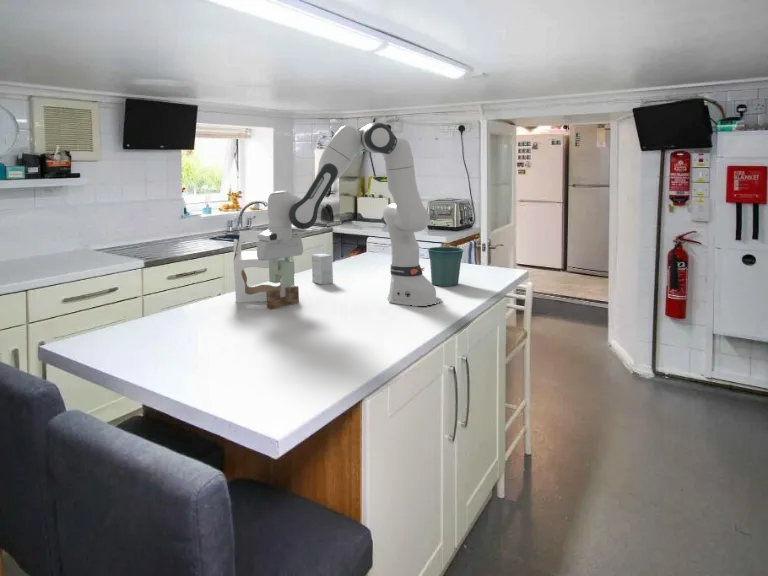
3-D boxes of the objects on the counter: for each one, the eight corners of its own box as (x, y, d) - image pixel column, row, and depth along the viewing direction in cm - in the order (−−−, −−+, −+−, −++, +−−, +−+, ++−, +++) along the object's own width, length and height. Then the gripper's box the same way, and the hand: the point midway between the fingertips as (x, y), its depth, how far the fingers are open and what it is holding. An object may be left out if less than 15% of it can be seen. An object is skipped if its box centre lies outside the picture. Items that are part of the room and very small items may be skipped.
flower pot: (436, 278, 276) (437, 245, 272) (468, 282, 268) (469, 247, 264) (420, 285, 262) (421, 250, 259) (454, 289, 254) (455, 253, 250)
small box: (333, 283, 267) (332, 255, 265) (321, 284, 264) (320, 256, 261) (323, 280, 274) (322, 252, 271) (312, 282, 270) (311, 254, 267)
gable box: (290, 292, 248) (288, 227, 242) (291, 300, 236) (289, 231, 230) (237, 295, 244) (233, 229, 238) (235, 303, 232) (231, 233, 226)
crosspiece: (294, 285, 223) (293, 262, 221) (289, 286, 221) (288, 263, 219) (274, 281, 230) (273, 258, 228) (269, 282, 229) (268, 259, 227)
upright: (294, 301, 234) (294, 285, 232) (299, 302, 232) (298, 286, 231) (267, 308, 223) (266, 291, 222) (271, 309, 222) (270, 292, 220)
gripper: (295, 230, 231) (296, 264, 234) (253, 235, 216) (255, 271, 219) (306, 231, 227) (307, 266, 230) (264, 237, 212) (265, 274, 215)
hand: (281, 269), depth 224 cm, fingers closed on crosspiece, 2 cm apart
